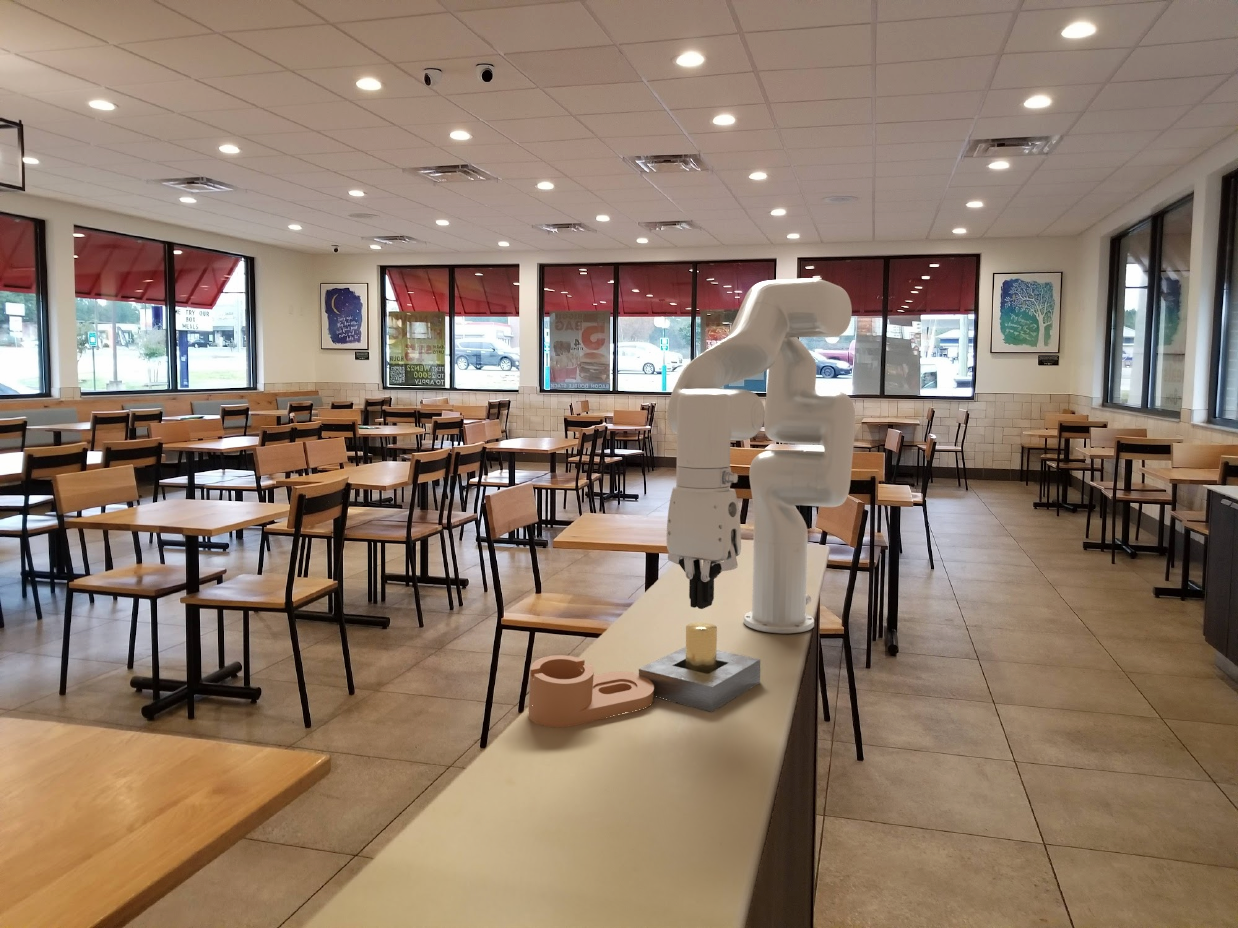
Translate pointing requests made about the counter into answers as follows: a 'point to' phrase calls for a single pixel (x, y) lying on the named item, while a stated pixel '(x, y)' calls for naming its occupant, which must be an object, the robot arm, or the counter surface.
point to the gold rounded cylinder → (701, 647)
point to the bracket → (582, 692)
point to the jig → (702, 679)
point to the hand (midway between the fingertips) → (701, 605)
